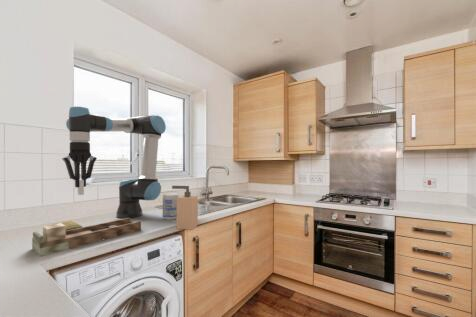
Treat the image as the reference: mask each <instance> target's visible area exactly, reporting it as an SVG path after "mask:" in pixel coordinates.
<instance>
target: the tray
mask: <svg viewBox="0 0 476 317" xmlns="http://www.w3.org/2000/svg"><path fill="white" fill-rule="evenodd" d="M141 230H142V221H141V220H138V221H132V220H131V218H119V219H116V220H111V221H106V222H102V223H101V222H100V223H96V224H93V225H87V226H82V228H77V229H72V230H67V231H66V238H63V239H59V240H54V241H50V242H43V234H40V233H39V232H38V231H33V232H32V238H31V239H32V241H31V242H32V243H31V245H32V250H33V251H34V252H35V253H36V254H37V255H38V256H39V257H43V256H46V255H51V254H55V253H59V252H64V251H66V250H70V249H74V248H78V247H82V246H85V245H89V244H92V243H93V244H94V243H97V242H100V240H101V241H104V240H103V239H105V240H108V239H107V238H109V239H112V238H111V237H113V238H116V237H120V236H124V235H128V234H132V233H135V232H139V231H141ZM115 236H116V237H115Z"/></svg>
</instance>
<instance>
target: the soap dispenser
mask: <svg viewBox="0 0 476 317" xmlns="http://www.w3.org/2000/svg"><path fill="white" fill-rule="evenodd" d="M171 188H172V189H173V190H185V191H184V193H183V194H184V195H181V196H180V195H179V197H178V198H177V218H176V229H177V230H184V231H186V230H188V231H189V230H191V231H192V230H194V229H195V228H196V227H197V226H198V220H199V219H198V218H199V217H198V215H199V212H198V210H199V208H198V207H199V206H198V202H199V201H198V200H199V198H198V197H199V196H198V195H191V193H192V192H191V191H190V185H172V186H171Z"/></svg>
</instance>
